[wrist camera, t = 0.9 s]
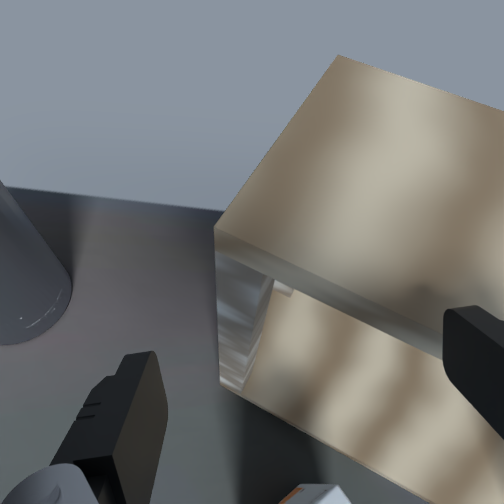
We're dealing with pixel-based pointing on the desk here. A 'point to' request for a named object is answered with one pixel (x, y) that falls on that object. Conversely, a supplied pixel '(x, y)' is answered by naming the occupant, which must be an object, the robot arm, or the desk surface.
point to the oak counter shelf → (369, 277)
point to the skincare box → (316, 495)
